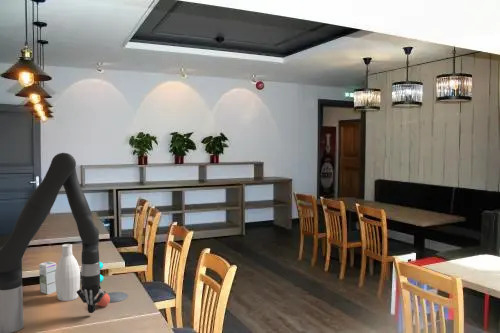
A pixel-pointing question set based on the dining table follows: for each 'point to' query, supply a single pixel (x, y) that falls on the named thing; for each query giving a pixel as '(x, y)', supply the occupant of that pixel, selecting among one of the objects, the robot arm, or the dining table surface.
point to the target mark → (117, 296)
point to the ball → (104, 300)
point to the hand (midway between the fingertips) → (91, 312)
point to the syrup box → (47, 277)
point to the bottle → (67, 275)
